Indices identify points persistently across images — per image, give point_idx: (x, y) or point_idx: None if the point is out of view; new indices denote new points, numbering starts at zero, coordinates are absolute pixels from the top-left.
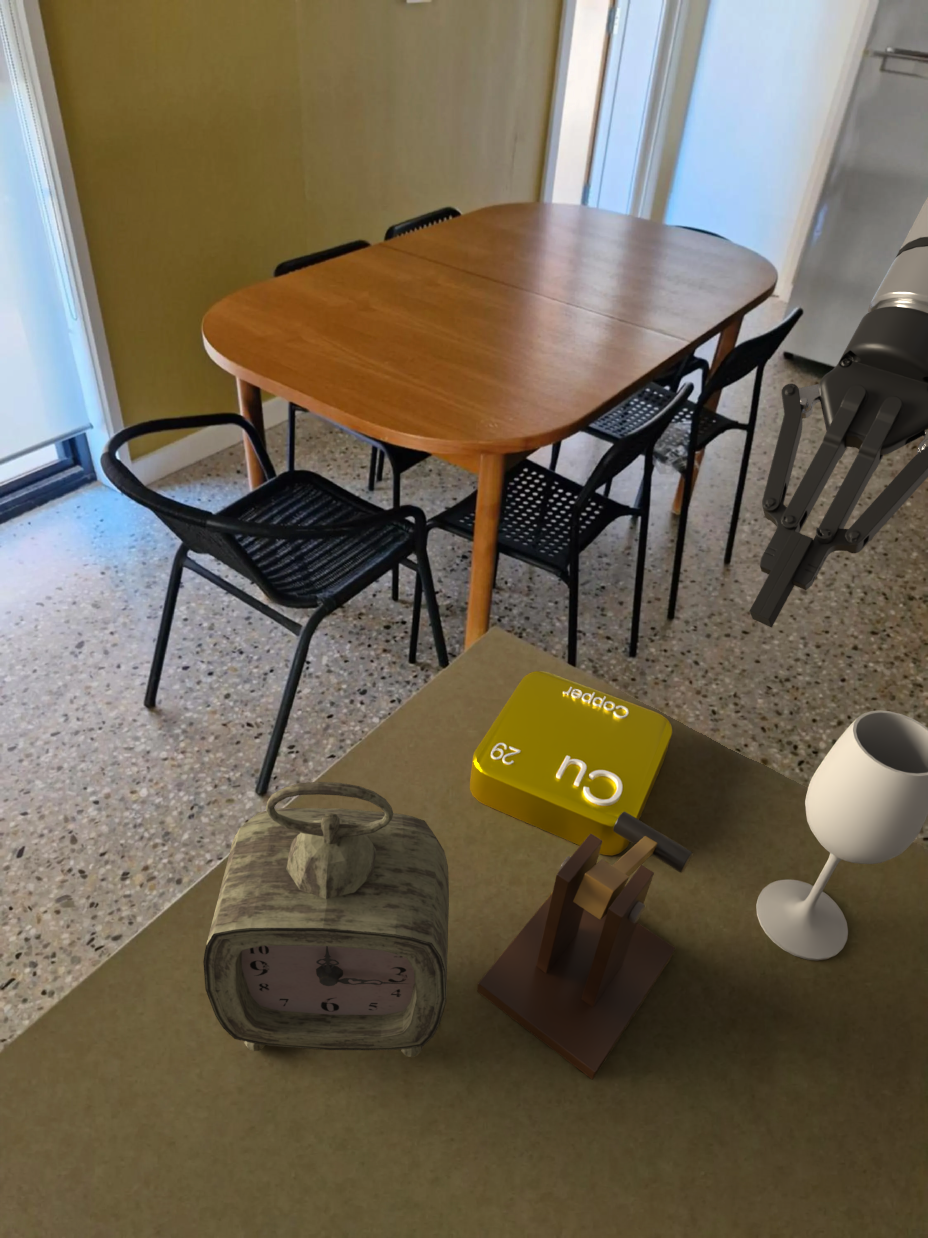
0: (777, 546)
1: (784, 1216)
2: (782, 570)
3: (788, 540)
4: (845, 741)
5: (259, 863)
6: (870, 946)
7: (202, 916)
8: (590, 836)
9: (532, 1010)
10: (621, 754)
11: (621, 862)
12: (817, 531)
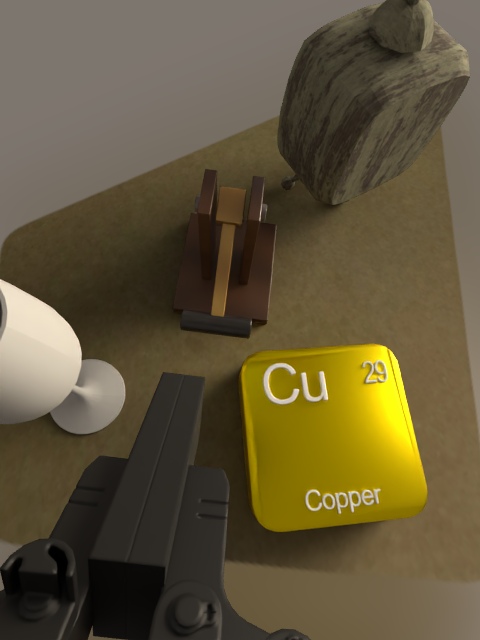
0: (199, 529)
1: (74, 207)
2: (162, 448)
3: (169, 526)
4: (21, 311)
5: (434, 28)
6: None
7: (435, 194)
8: (258, 217)
9: None
10: (285, 437)
11: (228, 251)
12: (67, 557)
